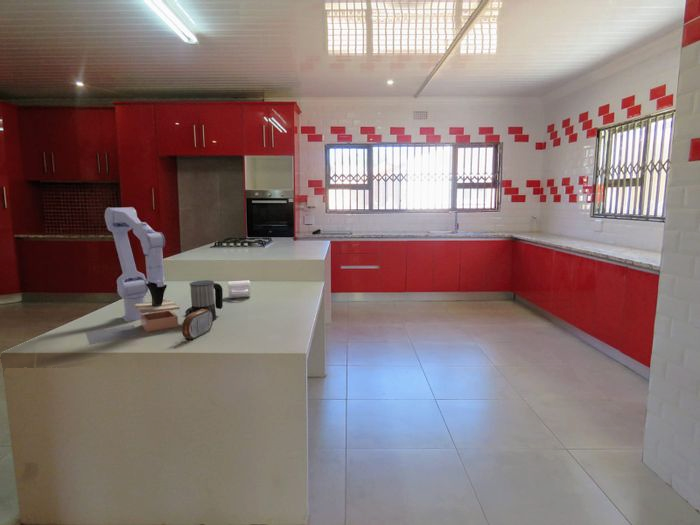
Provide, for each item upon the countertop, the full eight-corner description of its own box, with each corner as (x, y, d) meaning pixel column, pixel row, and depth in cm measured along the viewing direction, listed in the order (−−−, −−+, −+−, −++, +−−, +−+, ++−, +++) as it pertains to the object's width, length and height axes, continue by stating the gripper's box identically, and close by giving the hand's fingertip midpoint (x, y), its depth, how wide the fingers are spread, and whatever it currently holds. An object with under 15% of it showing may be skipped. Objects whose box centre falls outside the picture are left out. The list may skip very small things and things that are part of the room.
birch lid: (134, 306, 153) (134, 295, 152) (170, 302, 160) (170, 292, 160) (141, 313, 143) (141, 301, 142) (179, 309, 150) (179, 298, 150)
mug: (228, 296, 202) (227, 280, 201) (249, 294, 205) (248, 278, 204) (229, 302, 190) (228, 285, 189) (251, 300, 193) (250, 283, 192)
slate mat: (86, 334, 146) (85, 332, 146) (133, 326, 154) (133, 324, 154) (90, 345, 134) (89, 344, 134) (141, 336, 143) (141, 335, 142)
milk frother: (208, 323, 157) (206, 285, 155) (171, 321, 160) (168, 283, 158) (227, 313, 171) (225, 278, 169) (192, 311, 174) (190, 277, 172)
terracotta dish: (141, 326, 154) (140, 314, 153) (171, 321, 160) (170, 310, 159) (147, 333, 146) (146, 321, 145) (178, 328, 152) (177, 316, 151)
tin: (207, 328, 151) (206, 305, 150) (215, 328, 151) (214, 306, 149) (181, 342, 137) (180, 317, 136) (190, 342, 136) (188, 317, 135)
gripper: (138, 264, 153) (141, 300, 155) (146, 270, 141) (149, 308, 143) (159, 263, 157) (162, 298, 159) (168, 267, 145) (171, 305, 148)
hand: (157, 303), depth 152 cm, fingers closed on birch lid, 3 cm apart
